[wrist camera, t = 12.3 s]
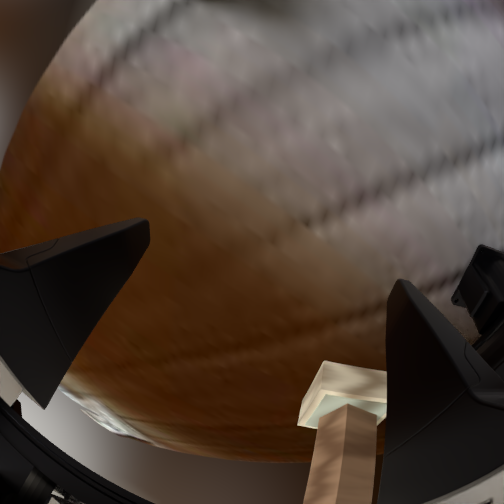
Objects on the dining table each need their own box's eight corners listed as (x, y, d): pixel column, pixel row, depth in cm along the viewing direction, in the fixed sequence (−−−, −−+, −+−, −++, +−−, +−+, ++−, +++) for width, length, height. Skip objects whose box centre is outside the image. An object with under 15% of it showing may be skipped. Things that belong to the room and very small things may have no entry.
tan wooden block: (347, 403, 27) (333, 514, 16) (376, 415, 27) (369, 516, 16) (319, 417, 29) (299, 516, 18) (348, 428, 30) (335, 520, 19)
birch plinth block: (400, 373, 28) (402, 402, 25) (367, 411, 34) (366, 436, 30) (323, 360, 30) (320, 390, 26) (302, 401, 35) (297, 426, 32)
